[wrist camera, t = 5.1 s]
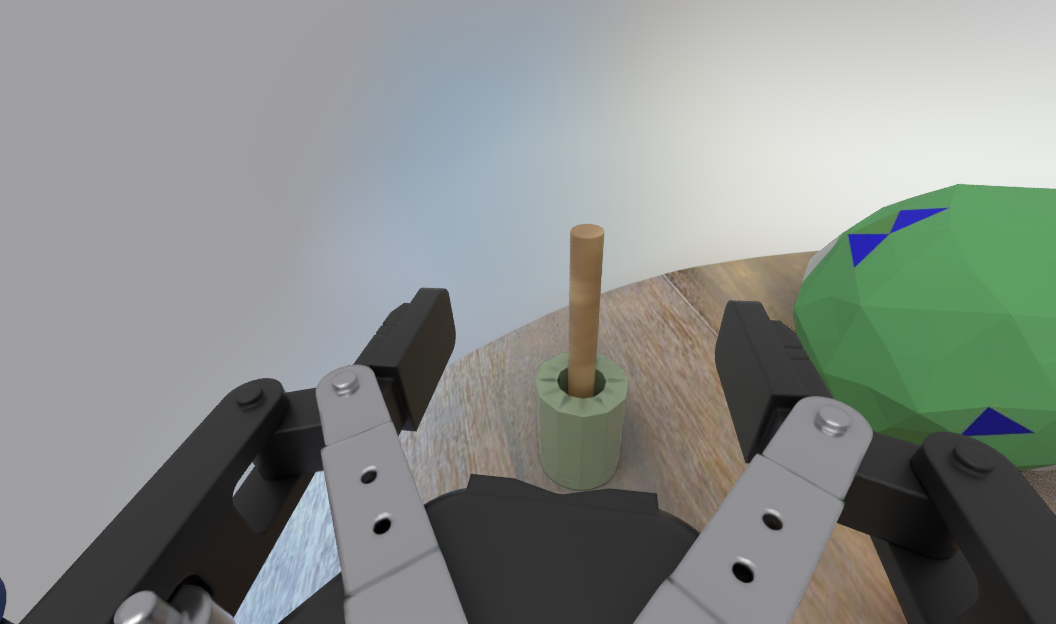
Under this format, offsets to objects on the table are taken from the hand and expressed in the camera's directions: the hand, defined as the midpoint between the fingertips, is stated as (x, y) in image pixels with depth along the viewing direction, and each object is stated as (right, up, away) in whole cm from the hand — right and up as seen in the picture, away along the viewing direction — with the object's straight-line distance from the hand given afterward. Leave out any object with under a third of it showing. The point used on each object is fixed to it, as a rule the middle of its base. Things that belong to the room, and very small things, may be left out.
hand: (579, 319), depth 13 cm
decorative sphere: (+29, -9, +23) cm, 38 cm away
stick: (+2, -10, +21) cm, 23 cm away
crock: (+3, -11, +21) cm, 24 cm away
